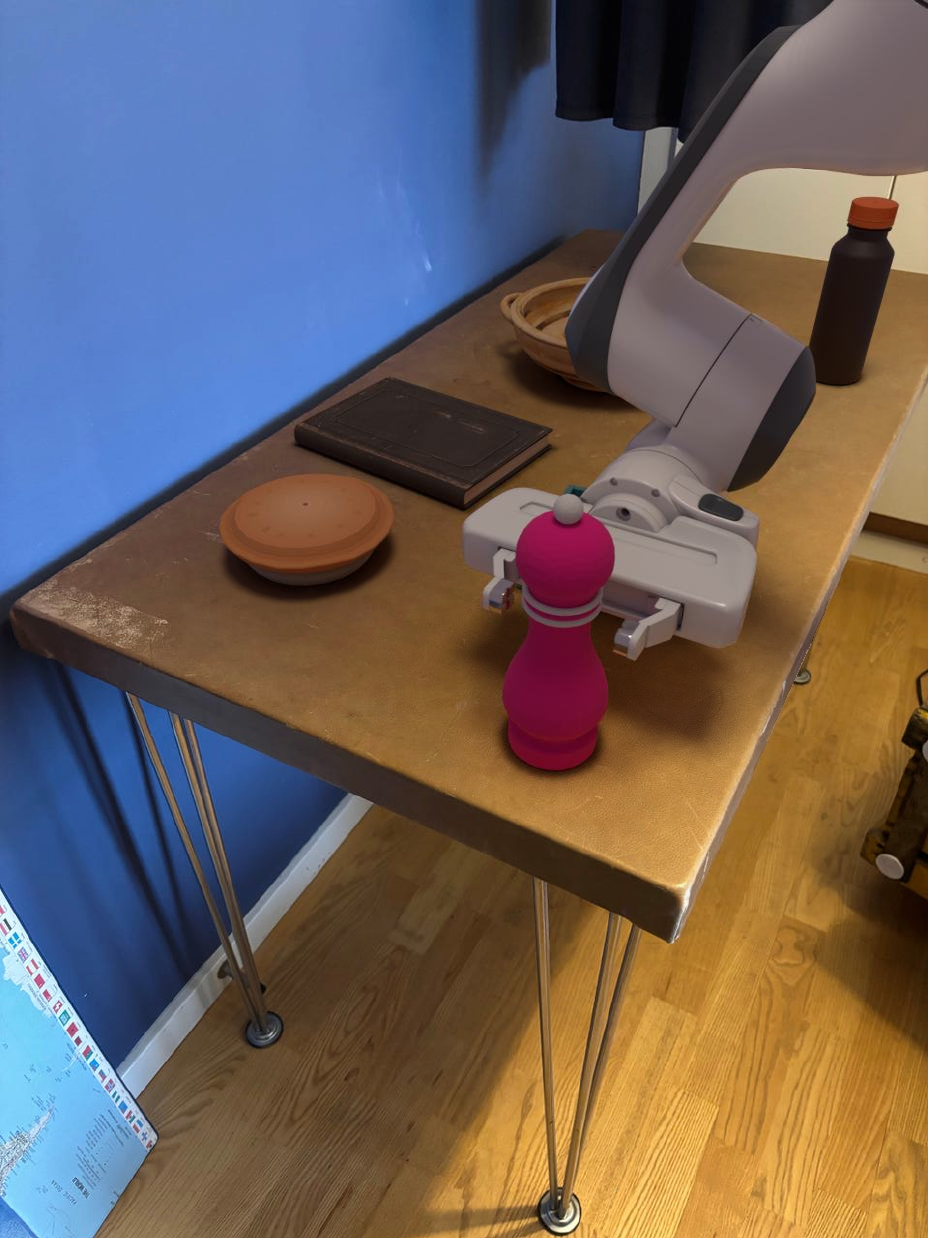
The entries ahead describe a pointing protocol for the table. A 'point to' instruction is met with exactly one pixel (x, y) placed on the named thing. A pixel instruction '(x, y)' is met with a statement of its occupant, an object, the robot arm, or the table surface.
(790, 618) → the table surface
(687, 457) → the robot arm
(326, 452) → the hardcover book
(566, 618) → the pepper mill
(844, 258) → the bottle
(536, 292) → the ceramic bowl
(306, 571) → the pie
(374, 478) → the table surface
